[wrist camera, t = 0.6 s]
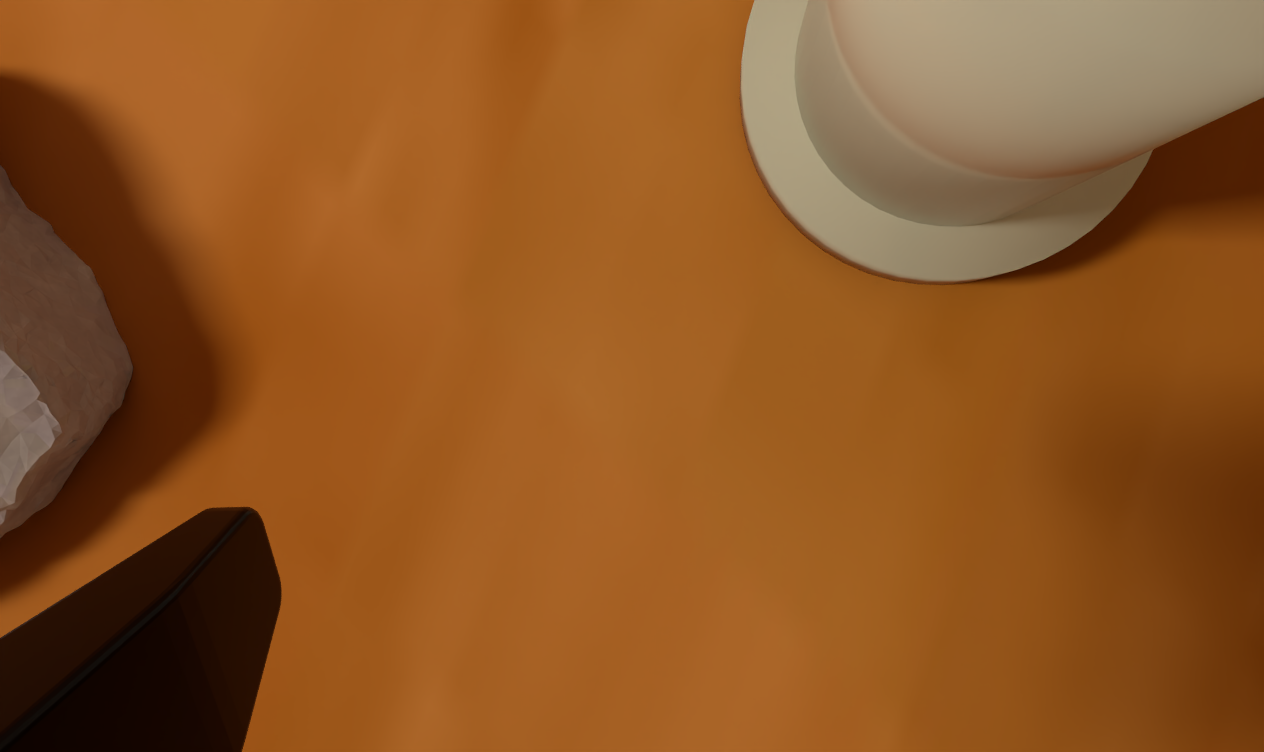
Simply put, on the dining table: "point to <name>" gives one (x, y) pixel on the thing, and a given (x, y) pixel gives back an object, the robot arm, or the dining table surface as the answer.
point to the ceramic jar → (978, 118)
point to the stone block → (49, 360)
